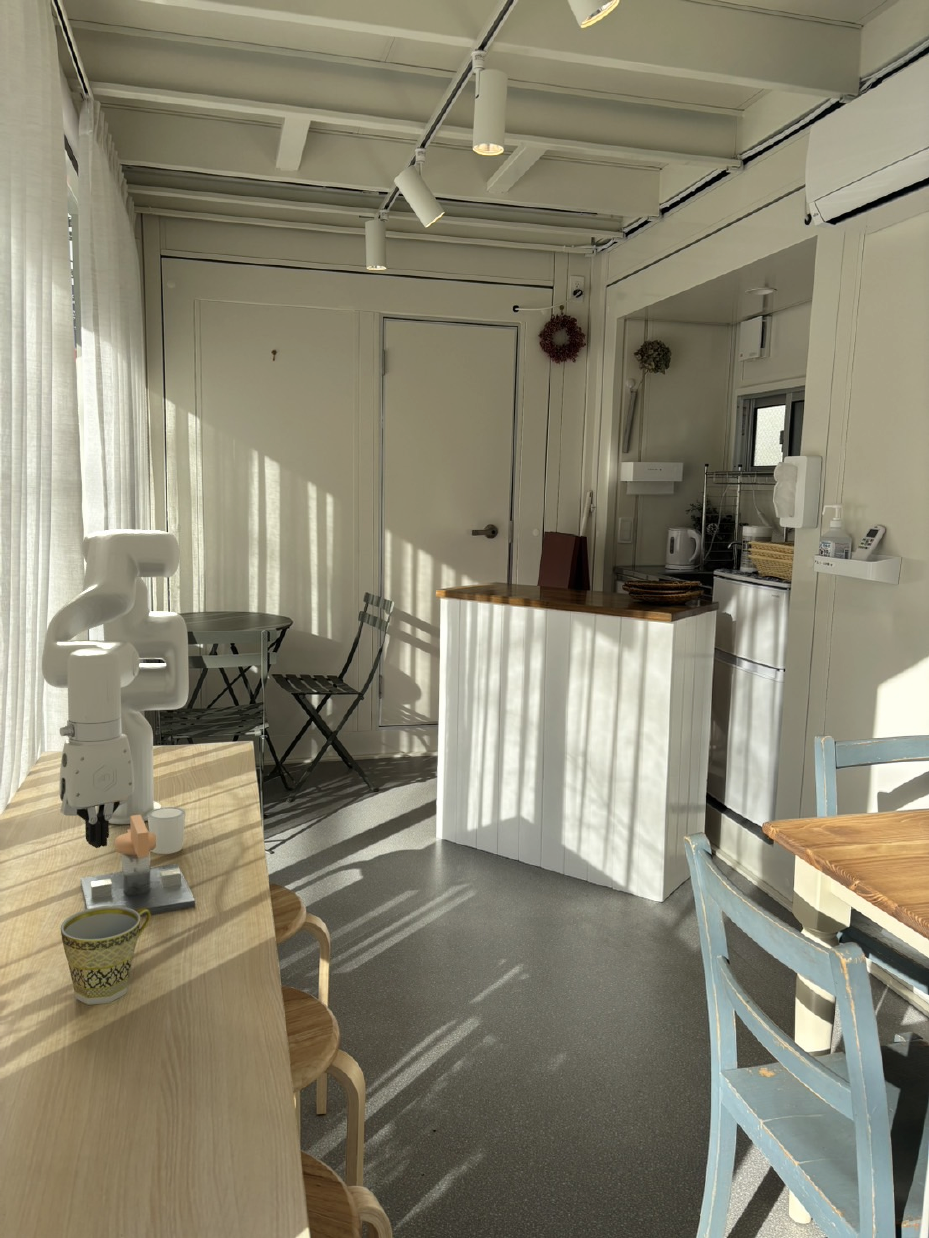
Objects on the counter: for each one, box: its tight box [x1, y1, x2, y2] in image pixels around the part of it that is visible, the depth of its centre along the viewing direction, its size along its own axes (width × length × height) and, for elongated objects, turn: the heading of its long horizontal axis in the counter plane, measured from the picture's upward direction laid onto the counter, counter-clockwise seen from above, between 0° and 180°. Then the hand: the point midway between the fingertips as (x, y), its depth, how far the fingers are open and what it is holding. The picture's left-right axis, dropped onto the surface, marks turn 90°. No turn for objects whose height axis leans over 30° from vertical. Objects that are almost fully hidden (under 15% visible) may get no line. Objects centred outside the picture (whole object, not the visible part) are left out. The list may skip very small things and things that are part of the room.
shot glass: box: [147, 806, 186, 855], centre depth 175 cm, size 7×7×7 cm
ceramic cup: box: [60, 906, 152, 1006], centre depth 126 cm, size 13×10×10 cm
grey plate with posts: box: [80, 851, 196, 917], centre depth 154 cm, size 16×16×8 cm
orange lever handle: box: [114, 815, 156, 858], centre depth 152 cm, size 14×6×6 cm, turn 27°
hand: (97, 844), depth 144 cm, fingers closed
